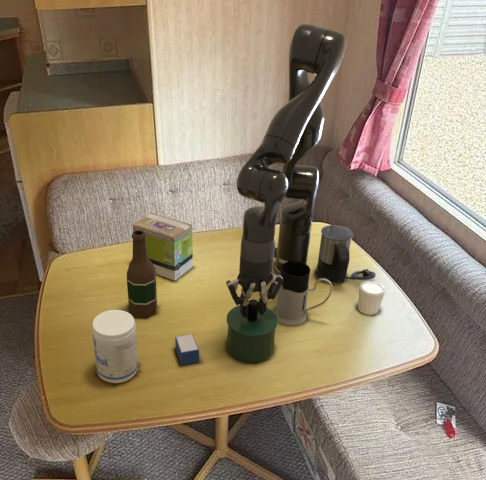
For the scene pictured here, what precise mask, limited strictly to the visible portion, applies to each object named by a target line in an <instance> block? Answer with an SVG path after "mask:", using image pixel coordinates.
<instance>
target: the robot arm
mask: <svg viewBox="0 0 486 480" xmlns="http://www.w3.org/2000/svg"><path fill="white" fill-rule="evenodd" d="M346 47H347V38H346V35H345V34H344V33H343V32H341V31H338V30H335V29H331V28H326V27H322V26H319V25H315V24H310V23H301V24H299V25H298V26H297V27H296V28H295V30H294V32H293V34H292V37H291V40H290V45H289V53H288V93H287V102H286V103H285V104H284V105H283V106H281V107H280V109H278V111H276V113H275V114H274V115H273V117H272V119H271V121H270V123H269V125H268V127H267V130H266V131H265V134H264V136H263V139H262V141H261V142H260V144H259V146H258V147H257V149H256V150H255V151H254V152H253V154H252V155H251V156H250V157H249V159H248V160H247V161H246V162H245V164H243V166H242V167H241V168H240V170H239V173H238V175H237V178H236V184H235V185H236V190H237V193H238V194H239V195H240V196H241V197H243V198H245V199H249V200H252V201H256V202H259V203H263V205H264V206H262V205H261V206H256V205H255V206H251V207H249V208H247V209H246V210H245V211H244V213H243V219H242V236H241V239H240V249H239V252H240V253H239V268H238V269H239V270H238V271H239V272H238V275H237V277H236V278H235V279H234V280H232V281H231V280H226V282H225V284H226V286H227V289H228V291H229V293H230V296H231V298H232V299H233V302H234V303H235V305H236V306H238V305H240V313H241V315H242V316H243V317H244V318H247V317H248V301H249V300H250V299H252V295H253V293H258V294H259V298H258V302H259V303H258V312H259V313H260V315H264V312H266V307H267V308H268V306H267V305H268V301H269V300H275V299H276V298H277V295H278V291H279V289H280V287H281V285H282V283H283V281H284V279H283V278H282V277H281V275H280V272H281V266H282V264H284V263H285V262H289V261H299V262H302V263H305V264H306V265H308V258H309V249H310V242H311V235H312V227H313V226H312V225H313V219H314V211H315V203H316V198H317V193H318V189H319V182H320V171H319V169H318V167H316V166H313V165H301V164H300V165H299V164H297V163H298V162H299V161H300V160H301V159H302V158H303V157H305V156H306V155H307V154H308V153H310V152H311V151H312V150H313V149H314V148H315V147H316V146H317V144H318V143H319V142H320V140H321V137H322V133H323V127H324V122H325V112H324V108H323V105H322V103H321V100H322V99H323V97H324V96H325V94H326V91H327V90H328V88H329V86H330V85H331V83H332V81H333V79H334V78H335V76H336V74H337V72H338V71H339V69H340V67H341V64H342V61H343V59H344V57H345V52H346ZM309 74H312V75H315V77H314V79H313V80H312V81H311V80H310V76H309ZM272 165H280V167H279V168H280V169H279V170H277V169H272V168H269V167H271V166H272ZM284 199H293V200H298V201H296V202H292V203H288V204H286V205H284V206H283V207H282V208H281V206H282V205H283V202H284ZM279 212H280V216H279V227H278V236H277V246H276V243H275V238H276V237H275V235H276V224H277V218H278V215H279ZM274 258H275V264H274ZM274 269H275V272H277V273H275V274H274V273H273V270H274ZM269 284H270V285H269ZM239 285H240V286H241V289H240V295H238V293H237V292H238V288H239V287H238V286H239ZM268 286H269V287H268ZM267 287H268V288H267Z"/></svg>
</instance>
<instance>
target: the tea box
mask: <svg viewBox="0 0 486 480" xmlns="http://www.w3.org/2000/svg"><path fill="white" fill-rule="evenodd" d="M136 230H142V231H144V232H145V233H146V238H145V240H146V248H147V255H148V258H149V260H150V261H151V262H152V263H153V265H154V267H155V272H156V275H158V276H161V277H163V278H166V279H169V280H172V281H177V280H178V279H180V277H182V276H183V275H185V274H186V273H187V272H188V271H190V270H191V269H192V268H193V265H194V263H193V259H194V256H193V255H194V254H193V253H194V252H193V251H194V250H193V248H194V247H193V225H192V224H191V223H188V222H184V221H181V220H177V219H174V218H171V217H168V216H164V215H161V214H158V213H155V212H152V213H150V214H148V215H147V216H145V217H143V218H141V219H139V220H138V221H136V222H135V223H133V224H132V233H133V232H134V231H136Z"/></svg>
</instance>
